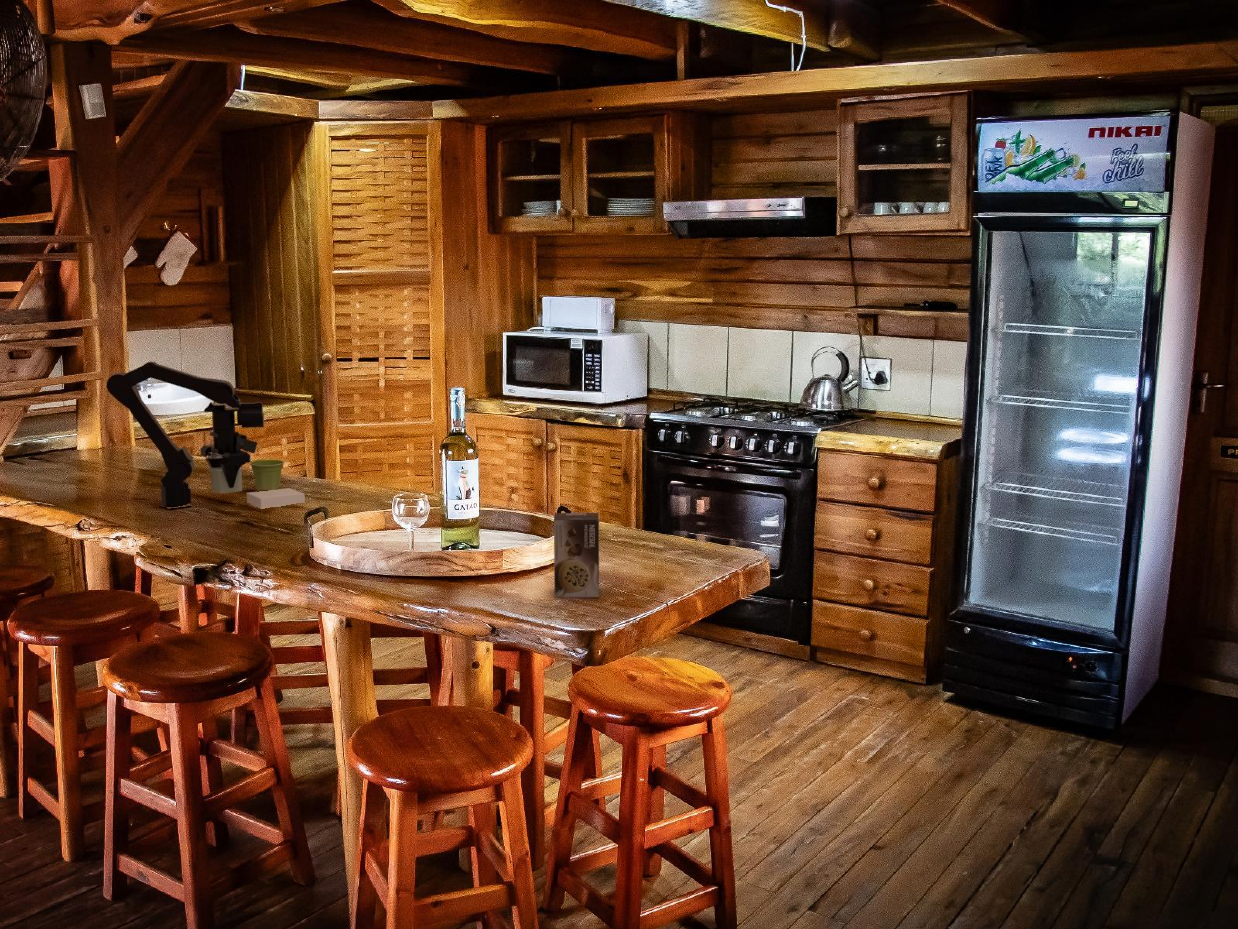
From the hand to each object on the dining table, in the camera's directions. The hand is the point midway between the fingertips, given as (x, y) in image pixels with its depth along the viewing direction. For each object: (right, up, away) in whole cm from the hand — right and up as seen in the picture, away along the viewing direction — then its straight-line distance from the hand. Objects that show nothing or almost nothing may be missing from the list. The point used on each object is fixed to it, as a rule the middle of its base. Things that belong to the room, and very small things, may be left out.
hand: (226, 485), depth 319 cm
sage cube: (0, -1, 0) cm, 1 cm away
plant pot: (+6, -2, +19) cm, 20 cm away
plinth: (+13, -6, 0) cm, 14 cm away
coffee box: (+97, -21, -79) cm, 126 cm away
